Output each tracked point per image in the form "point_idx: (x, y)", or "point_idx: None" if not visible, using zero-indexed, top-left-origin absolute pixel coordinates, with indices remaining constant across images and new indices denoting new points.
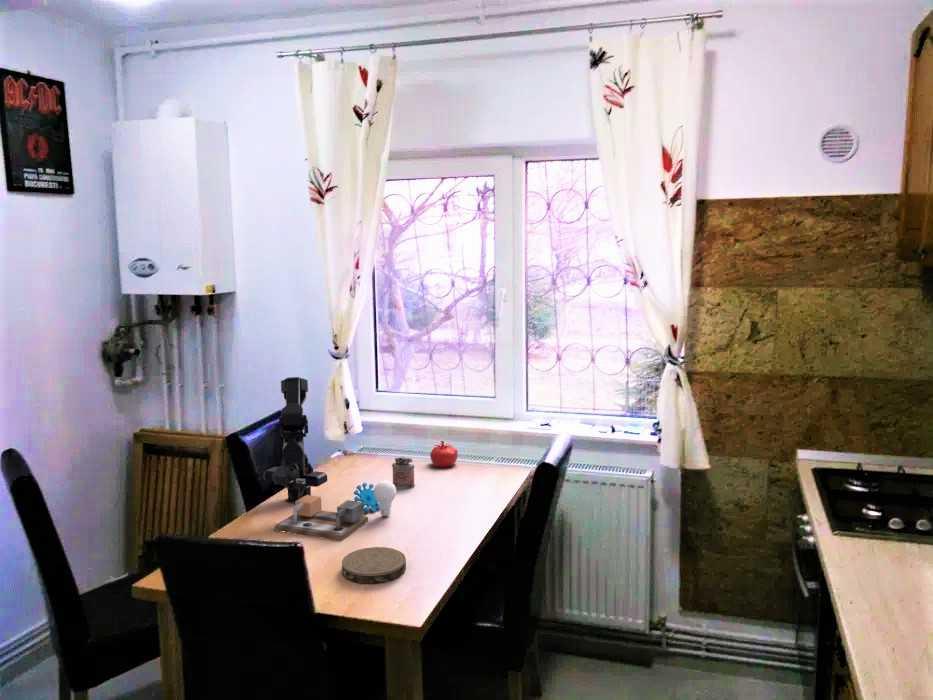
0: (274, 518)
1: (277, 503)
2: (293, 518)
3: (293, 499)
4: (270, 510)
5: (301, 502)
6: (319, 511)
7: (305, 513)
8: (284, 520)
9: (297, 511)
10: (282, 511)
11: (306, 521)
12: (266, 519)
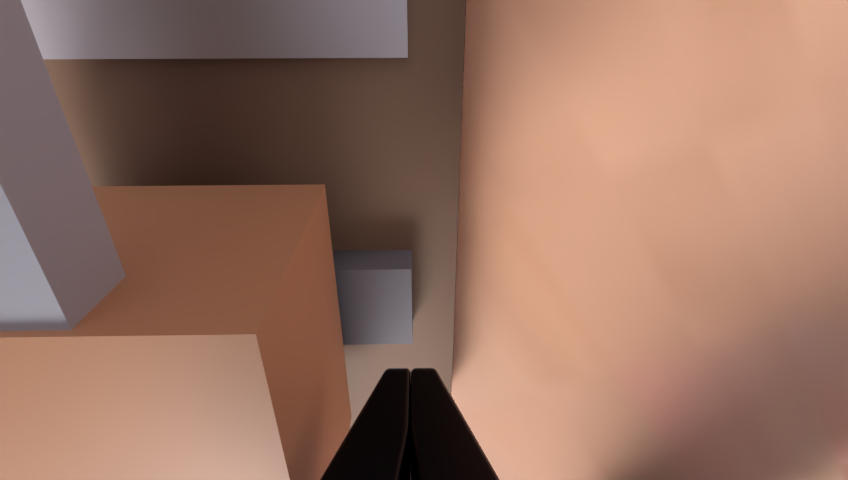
0: (693, 184)
1: (789, 469)
2: (363, 144)
3: (444, 440)
4: (813, 346)
5: (37, 333)
6: None
7: (110, 204)
8: (447, 17)
9: (273, 209)
10: (676, 359)
11: (92, 103)
12: (789, 123)
